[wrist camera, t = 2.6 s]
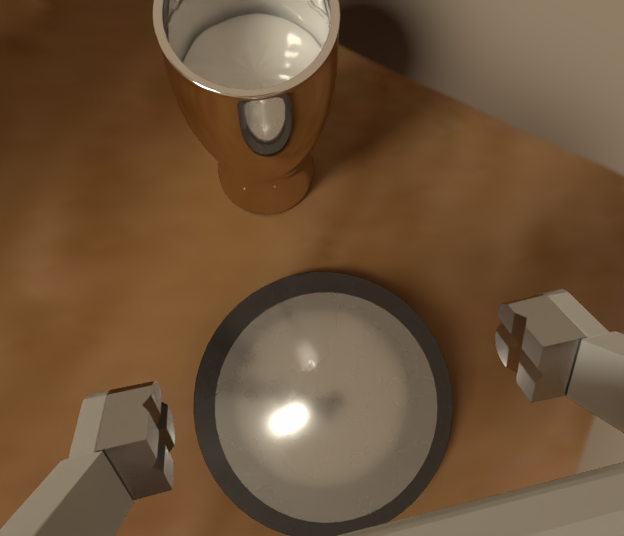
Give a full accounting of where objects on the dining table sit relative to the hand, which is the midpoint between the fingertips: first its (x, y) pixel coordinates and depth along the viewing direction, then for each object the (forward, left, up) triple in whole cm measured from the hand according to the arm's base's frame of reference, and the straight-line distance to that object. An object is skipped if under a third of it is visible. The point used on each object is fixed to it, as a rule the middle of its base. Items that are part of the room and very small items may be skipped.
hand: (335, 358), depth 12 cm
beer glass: (-11, +6, -19) cm, 22 cm away
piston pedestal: (+2, -1, -19) cm, 19 cm away
